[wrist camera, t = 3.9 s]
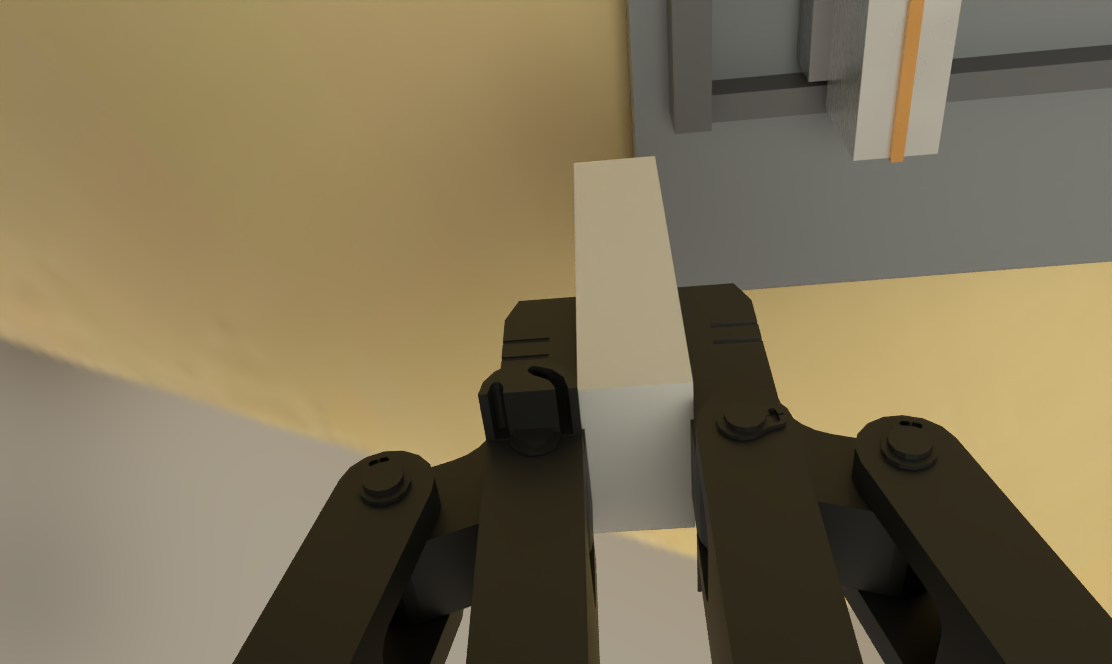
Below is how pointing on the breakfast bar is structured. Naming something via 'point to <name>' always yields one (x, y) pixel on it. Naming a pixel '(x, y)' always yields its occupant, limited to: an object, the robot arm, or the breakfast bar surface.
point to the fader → (881, 70)
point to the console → (876, 184)
